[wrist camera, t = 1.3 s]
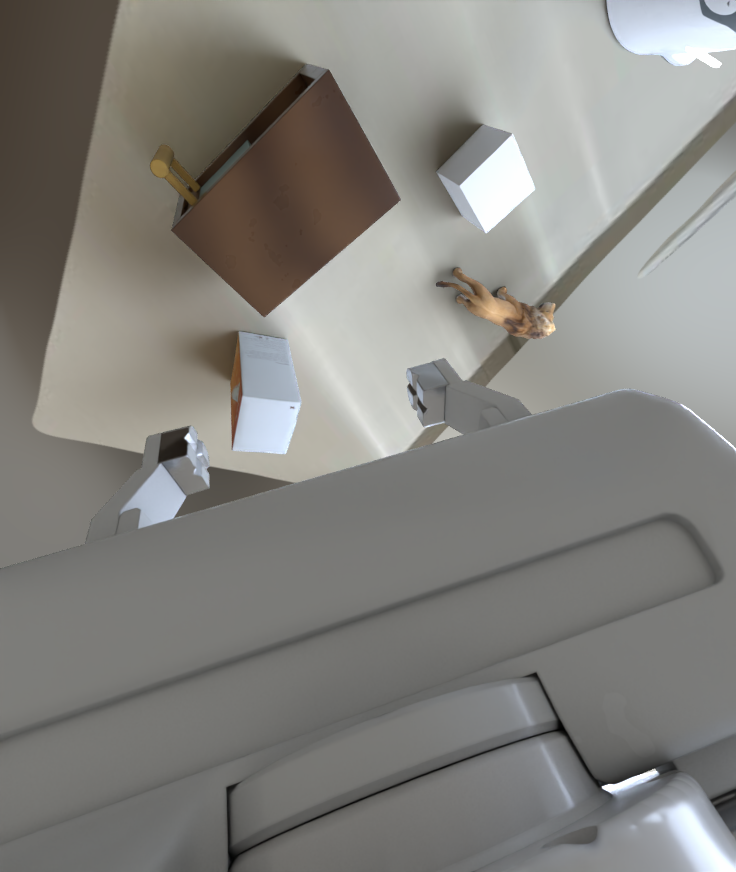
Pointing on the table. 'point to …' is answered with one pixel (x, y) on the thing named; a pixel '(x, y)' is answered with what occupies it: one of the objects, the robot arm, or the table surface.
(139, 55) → the table surface
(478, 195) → the white cube
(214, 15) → the table surface
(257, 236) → the cabinet
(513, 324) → the lion figurine
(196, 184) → the handled teal slab
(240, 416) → the small box
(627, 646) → the robot arm
